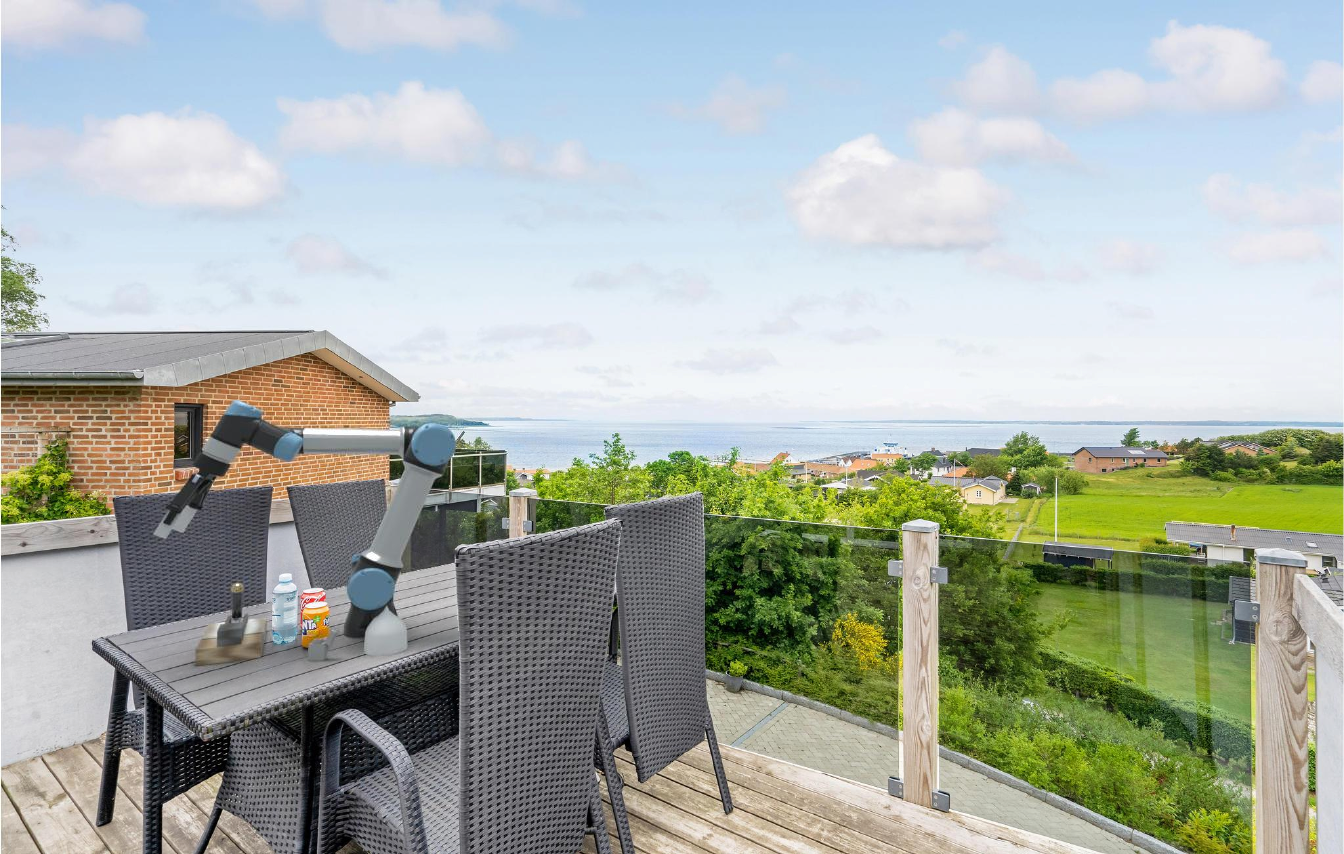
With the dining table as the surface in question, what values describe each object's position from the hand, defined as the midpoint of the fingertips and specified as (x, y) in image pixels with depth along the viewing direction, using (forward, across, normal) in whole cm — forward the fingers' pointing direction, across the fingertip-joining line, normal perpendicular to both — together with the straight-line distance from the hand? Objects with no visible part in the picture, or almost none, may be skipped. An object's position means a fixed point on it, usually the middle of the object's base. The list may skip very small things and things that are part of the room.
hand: (168, 533), depth 165 cm
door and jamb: (+24, -12, +26) cm, 37 cm away
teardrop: (+7, +3, +60) cm, 61 cm away
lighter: (+14, +6, +47) cm, 49 cm away
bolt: (+20, -16, +23) cm, 34 cm away
